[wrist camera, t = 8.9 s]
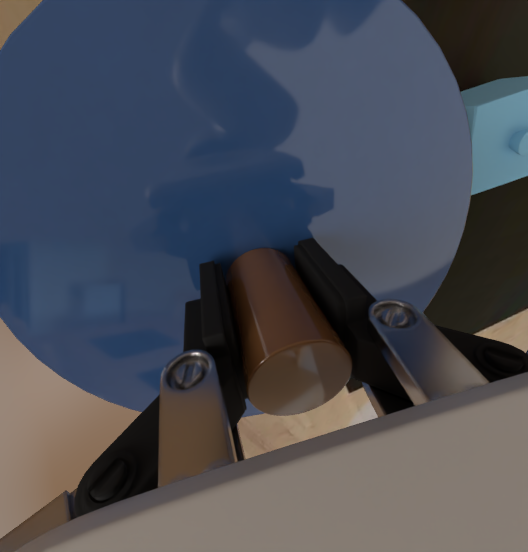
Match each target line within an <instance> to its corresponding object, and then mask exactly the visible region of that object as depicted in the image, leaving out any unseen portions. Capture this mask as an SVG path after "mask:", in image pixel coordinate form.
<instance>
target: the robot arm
mask: <svg viewBox="0 0 528 552" xmlns="http://www.w3.org/2000/svg"><path fill="white" fill-rule="evenodd" d="M294 257H295V268H296V270H297V272H298V273H299V275H300V276H301V278H302V280H303V281H304V283H305V284H306V286H307V287H308V289H309V290H310V292H311V294H312V295H313V297H314V298H315V300H316V301H317V303H318V304H319V306H320V308H321V309H322V311H323V312H324V314H325V315H326V317H327V319H328V320H329V322H330V323H331V325H332V326H333V328H334V329H335V331H336V333H337V334H338V336H339V337H340V339H341V340H342V342H343V343H344V345H345V347H346V348H347V350H348V351H349V353H350V355H351V358H352V364H353V367H352V373H351V376H350V378H349V380H350V379H353V378H355V379H356V380H358V381H361V382H362V384H363V387H364V390H365V392H366V394H367V396H368V398H369V400H370V402H371V404H372V406H373V408H374V410H375V412H376V413H377V415H378V418H375V419H372V420H369V421H366V422H362V423H359V424H356V425H353V426H350V427H346V428H343V429H340V430H337V431H334V432H331V433H327V434H324V435H321V436H318V437H315V438H312V439H308V440H305V441H302V442H299V443H296V444H292V445H289V446H286V447H283V448H280V449H277V450H274V451H271V452H267V453H264V454H261V455H258V456H255V457H252V458H249V459H246V458H245V454H244V450H243V446H242V441H241V437H240V433H239V428H238V425H237V423H238V421H239V420H240V419H241V417H242V416H243V414H244V413H245V410H247V407H246V402H245V399H248V397H247V393H246V388H245V382H244V377H243V372H242V366H241V359H240V354H239V349H238V344H237V338H236V333H235V328H234V322H233V317H232V312H231V307H230V301H229V296H228V291H227V286H226V282H225V279H224V275H223V271H222V267H221V264H220V263H218V264H215V262H214V261H210V262H205V263H201V264H199V270H200V296H201V298H200V299H196V300H192V301H188V302H186V303H185V321H184V346H183V353H181V354H178V355H177V356H176V357H174V358H173V359H171V360H170V361H169V363H168V364H167V365H166V366H165V367H164V369H163V371H162V373H161V378H160V394H159V395H158V396H157V397H156V398H155V400H154V401H153V402H152V403H151V404H150V405H149V406H148V407H147V408H146V409H145V410H144V411H143V412H142V413H141V414H140V415H139V416H138V417H137V418H136V419H135V420H134V421H133V422H132V423H131V424H130V426H129V427H128V428H127V429H126V430H125V431H124V432H123V433H122V434H121V435H120V436H119V437H118V438H117V439H116V440H115V441H114V442H113V443H112V444H111V445H110V446H109V447H108V448H107V449H106V450H105V451H104V452H103V453H102V454H101V456H100V457H99V458H98V459H97V460H96V461H95V462H94V463H93V464H92V465H91V466H90V468H89V469H88V470H87V471H86V473H85V474H84V476H83V478H82V480H81V481H80V483H79V485H78V488H77V489H75V490H74V491H73V492H71V493H69V492H68V491H65V492H63V493H62V494H60V495H59V496H58V497H56V498H55V499H54V500H52V501H51V502H50V503H49V504H47V505H46V506H45V507H43V508H42V509H40V510H39V511H38V512H36V513H35V514H34V515H32V516H31V517H30V518H28V519H27V520H25V521H24V522H23V523H21V524H20V525H19V526H18V527H16V528H14V529H13V530H12V531H10V532H9V533H8V534H6V535H5V536H4V537H2V538H1V539H0V552H528V350H527V352H526V353H525V352H523V351H522V350H520V349H518V348H516V347H514V346H512V345H509V344H506V343H503V342H500V341H496V340H492V339H488V338H484V337H480V336H476V335H472V334H468V333H464V332H460V331H456V330H452V329H448V328H444V327H440V326H436V325H434V324H433V323H432V322H431V321H430V320H429V319H428V318H427V317H426V316H425V315H424V314H423V313H422V312H421V311H420V310H419V309H418V308H417V307H415V306H414V305H412V304H410V303H408V302H406V301H402V300H399V299H382V300H379V301H377V300H376V299H375V298H374V297H373V296H372V295H371V294H370V293H369V292H368V290H367V289H366V288H365V287H364V286H363V285H362V284H361V283H360V282H359V281H358V280H357V279H356V278H355V277H354V276H353V275H352V274H351V273H350V272H349V271H348V270H347V269H346V268H345V266H343V265H341V264H339V265H338V264H337V263H336V262H335V261H334V260H333V259H332V258H331V257H330V256H329V254H328V253H327V252H326V251H325V250H324V249H323V248H322V247H321V246H320V245H319V244H318V243H317V241H316V240H315V239H314V238H309V239H305V240H301V241H298V245H295V246H294Z"/></svg>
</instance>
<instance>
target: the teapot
mask: <svg viewBox="0 0 528 552" xmlns="http://www.w3.org/2000/svg"><path fill="white" fill-rule="evenodd" d="M460 93H461V96H462V99H463V102H464V105H465V108H466V112H467V117H468V123H469V129H470V135H471V141H472V163H473V178H472V188H471V195H473V194H476V193H479V192H482V191H485V190H488V189H491V188H494V187H497V186H499V185H502V184H505V183H508V182H511V181H514V180H517V179H519V178H522V177H525V176H528V76H526V77H515V78H505V79H498V80H495V81H492V82H489V83H486V84H483V85H480V86H477V87H474V88H471V89H468V90H465V91H462V92H460Z"/></svg>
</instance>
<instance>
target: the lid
mask: <svg viewBox="0 0 528 552" xmlns="http://www.w3.org/2000/svg"><path fill="white" fill-rule="evenodd" d="M472 178H473V163H472V141H471V135H470V129H469V123H468V117H467V112H466V108H465V105H464V102H463V99H462V96H461V93H460V89H459V86H458V83H457V80H456V78H455V76H454V74H453V72H452V70H451V68H450V66H449V64H448V62H447V60H446V58H445V56H444V54H443V52H442V50H441V48H440V46H439V45H438V44H437V42H436V41H435V39H434V38H433V37H432V35H431V34H430V33H429V31H428V30H427V28H426V27H425V26H424V24H423V23H422V22H421V20H420V19H419V17H418V16H417V15H416V14H415V13H414V12H413V11H412V10H411V9H410V8H409V7H408V6H407V5H406V4H405V3H404V2H403V1H402V0H43V1H42V2H41V3H40V4H39V5H38V6H37V7H36V8H35V9H34V10H33V11H32V12H31V13H30V14H29V15H28V16H27V17H26V18H25V19H24V20H23V22H22V23H21V24H20V25H19V26H18V27H17V28H16V29H15V30H14V31H13V32H12V33H11V34H10V36H9V37H8V39H7V40H6V42H5V44H4V45H3V47H2V48H1V50H0V318H1V319H2V320H3V321H4V323H5V324H6V325H7V327H8V328H9V329H10V330H11V332H12V333H13V334H14V335H15V337H16V338H17V339H18V340H19V341H20V342H21V343H22V344H23V345H24V346H25V347H26V348H27V349H28V350H29V351H30V352H31V353H32V354H33V355H34V356H35V357H36V358H37V359H38V360H40V361H41V362H42V363H44V364H45V365H46V366H48V367H49V368H50V369H52V370H53V371H54V372H56V373H57V374H58V375H59V376H61V377H62V378H64V379H66V380H67V381H69V382H71V383H72V384H74V385H76V386H77V387H79V388H81V389H83V390H85V391H86V392H88V393H91V394H93V395H95V396H97V397H99V398H102V399H104V400H106V401H108V402H111V403H114V404H117V405H120V406H123V407H126V408H129V409H132V410H136V411H140V412H143V411H144V410H145V409H146V408H147V407H148V406H149V405H150V404H151V403H152V402H153V401H154V400H155V398H156V397H157V396H158V395H159V394H160V378H161V373H162V371H163V369H164V367H165V366H166V365H167V364H168V363H169V361H170V360H171V359H173V358H174V357H176V356H177V355H178V354H181V353H183V346H184V321H185V303H186V302H188V301H192V300H196V299H200V298H201V296H200V270H199V264H201V263H205V262H210V261H214V262H215V264H218V263H220V264H221V267H222V271H223V275H224V279H225V282H226V286H227V291H228V296H229V301H230V307H231V312H232V317H233V322H234V328H235V333H236V338H237V344H238V349H239V354H240V359H241V366H242V372H243V377H244V382H245V388H246V393H247V397H248V399H245V402H246V407H247V410H245V413H244V414H243V416H242V417H247V416H253V415H259V414H264V413H266V414H270V415H277V416H287V415H295V414H300V413H304V412H307V411H310V410H312V409H315V408H317V407H319V406H321V405H323V404H324V403H326V402H328V401H329V400H330V399H332V398H333V397H334V396H336V395H337V394H338V393H339V392H340V391H341V390H342V389H343V387H344V386H345V385H346V383H347V382H348V380H349V378H350V376H351V373H352V367H353V364H352V358H351V355H350V353H349V351H348V350H347V348H346V347H345V345H344V343H343V342H342V340H341V339H340V337H339V336H338V334H337V333H336V331H335V329H334V328H333V326H332V325H331V323H330V322H329V320H328V319H327V317H326V315H325V314H324V312H323V311H322V309H321V308H320V306H319V304H318V303H317V301H316V300H315V298H314V297H313V295H312V294H311V292H310V290H309V289H308V287H307V286H306V284H305V283H304V281H303V280H302V278H301V276H300V275H299V273H298V272H297V270H296V268H295V257H294V246H295V245H298V241H301V240H305V239H309V238H314V239H315V240H316V241H317V243H318V244H319V245H320V246H321V247H322V248H323V249H324V250H325V251H326V252H327V253H328V254H329V256H330V257H331V258H332V259H333V260H334V261H335V262H336V263H337V264H338V265H339V264H341V265H343V266H345V268H346V269H347V270H348V271H349V272H350V273H351V274H352V275H353V276H354V277H355V278H356V279H357V280H358V281H359V282H360V283H361V284H362V285H363V286H364V287H365V288H366V289H367V290H368V292H369V293H370V294H371V295H372V296H373V297H374V298H375V299H376V300H377V301H379V300H382V299H399V300H402V301H406V302H408V303H410V304H412V305H414V306H415V307H417V308H418V309H419V310H420V311H421V312H422V313H423V311H424V310H425V308H426V307H427V306H428V304H429V303H430V301H431V300H432V299H433V297H434V295H435V294H436V292H437V290H438V289H439V287H440V285H441V283H442V282H443V280H444V278H445V276H446V274H447V272H448V270H449V268H450V266H451V263H452V261H453V259H454V257H455V255H456V252H457V249H458V246H459V243H460V240H461V237H462V234H463V231H464V228H465V223H466V219H467V214H468V210H469V205H470V198H471V188H472Z"/></svg>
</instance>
